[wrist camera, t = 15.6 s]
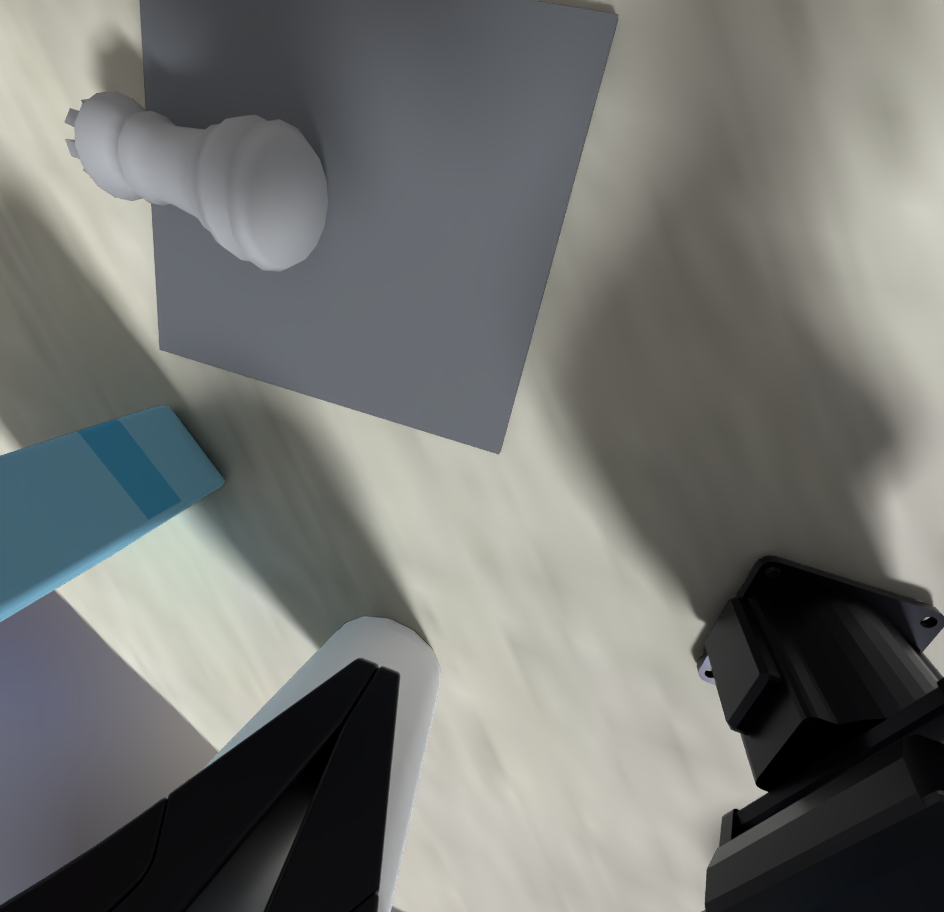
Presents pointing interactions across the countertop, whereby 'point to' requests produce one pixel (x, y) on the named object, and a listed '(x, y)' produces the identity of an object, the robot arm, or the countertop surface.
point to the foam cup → (413, 720)
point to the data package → (92, 498)
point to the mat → (383, 193)
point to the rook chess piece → (210, 175)
